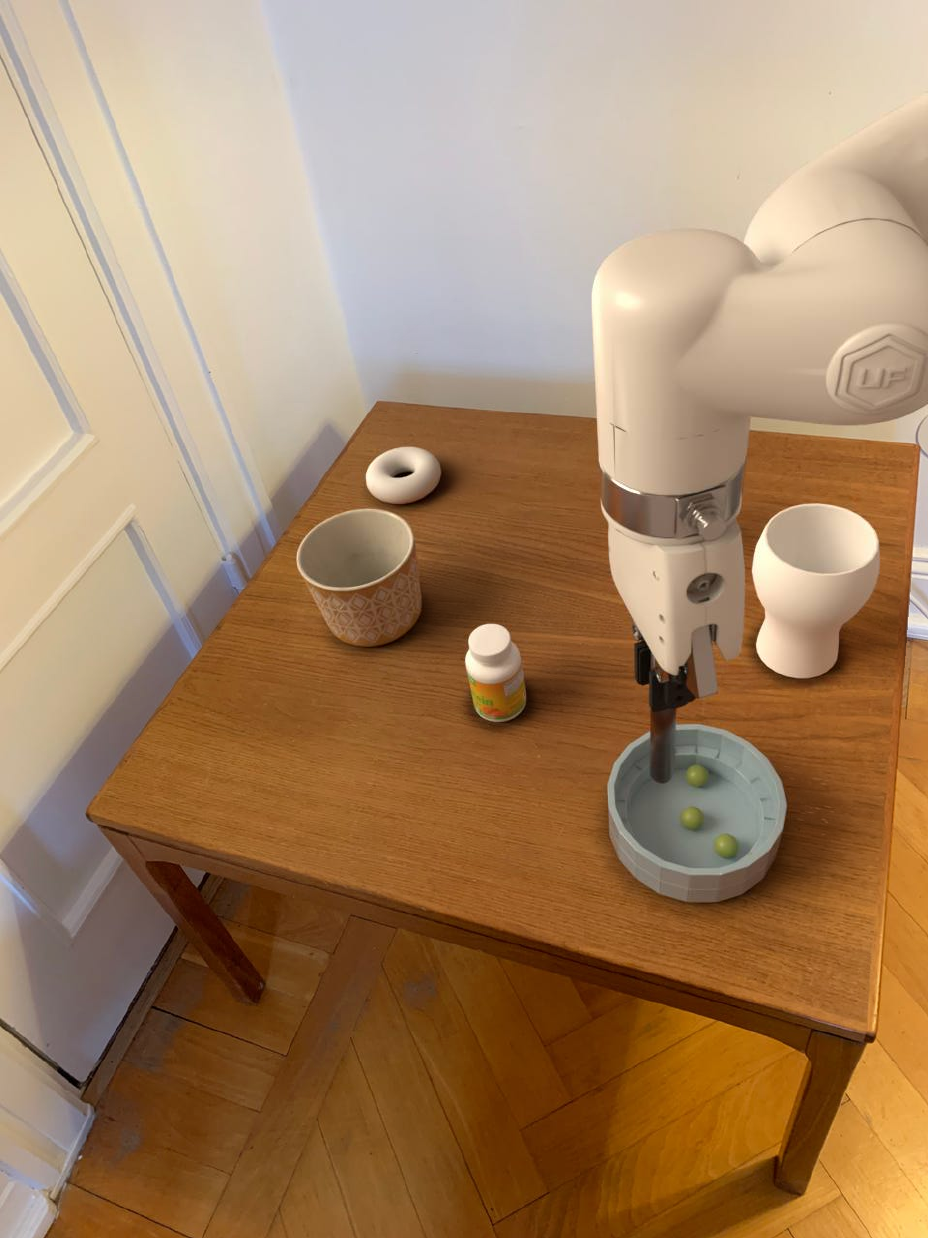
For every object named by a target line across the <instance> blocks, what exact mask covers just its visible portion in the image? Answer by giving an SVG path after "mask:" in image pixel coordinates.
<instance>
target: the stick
mask: <svg viewBox="0 0 928 1238" xmlns="http://www.w3.org/2000/svg"><path fill="white" fill-rule="evenodd" d="M654 668H655V657H654V655H653V653H652V652H651V670H652V669H654ZM649 709H650V711H649V712H650V713H649V715H650V719H649V720H650V721H649V723H650V724H649V727H650V728H649V732H650V775H651V777H652V779H653V780H654V781H655V782H657V783H660V784H665V783H668V782H669V781H670V780H671V779H672V778H673V774H674V754H675V732H676V725H677V711H678V710H677V709H678V708H676V709H666V710H663V711H659V712H652V710H651V708H650V707H649Z"/></svg>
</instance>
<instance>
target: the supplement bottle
mask: <svg viewBox="0 0 928 1238" xmlns="http://www.w3.org/2000/svg"><path fill="white" fill-rule="evenodd" d="M467 644H468V650H467V651H466V654H465V660H464V664H465V669H466V670H465V671H466V674H467V679H468V682H469V688H470V692H471V693H470V694H471V697H472V702H473V707H474V709H475V711H476V713H477V714H478V715H479V716H480V717H481V718H483V719H485V720H486V721H489V722H492V723H493V722H494V723H504V722H508V721H511V720H513V719H515V718H516V717H518V716H519V715H520V714H521V713H522V711H523V710H524V709H525V706H526V704H527V703H526V702H527V691H526V684H525V676H524V670H523V662H522V657H521V653H520V650H519V648H518V646H517V645H516V644H515V643H514V642H513V641H512V639H511V633H510V632H509V630H508V629H507V628H506V627H505V626H503V625H501V624H497V623H485V624H482V625H479V626H478V627H476V628H475V629H473V631H472V632H471V633H470V634H469V637H468V643H467Z"/></svg>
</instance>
